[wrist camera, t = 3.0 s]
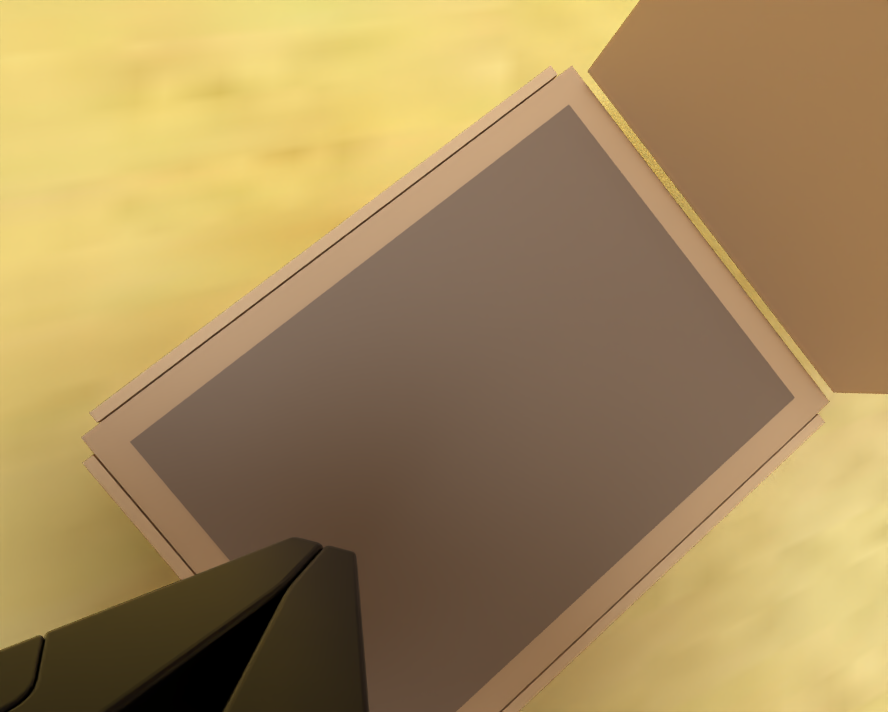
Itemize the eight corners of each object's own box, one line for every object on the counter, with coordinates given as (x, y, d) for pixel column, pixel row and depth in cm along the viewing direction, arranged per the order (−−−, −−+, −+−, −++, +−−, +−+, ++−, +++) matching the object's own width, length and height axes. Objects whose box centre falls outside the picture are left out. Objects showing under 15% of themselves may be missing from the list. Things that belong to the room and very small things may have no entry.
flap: (1339, 408, 9) (1365, 381, 9) (845, -281, 8) (878, -303, 8) (832, 392, 18) (847, 380, 18) (586, 72, 18) (602, 59, 18)
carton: (384, 754, 20) (393, 831, 16) (109, 428, 19) (58, 435, 16) (760, 408, 22) (838, 411, 19) (528, 108, 22) (564, 54, 18)
